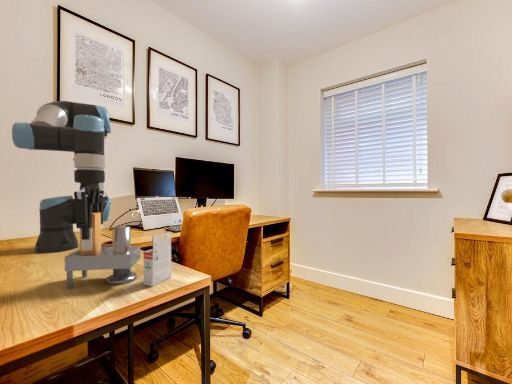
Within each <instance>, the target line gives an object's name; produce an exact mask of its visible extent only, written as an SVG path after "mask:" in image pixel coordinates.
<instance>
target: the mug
mask: <svg viewBox="0 0 512 384" xmlns="http://www.w3.org/2000/svg"><path fill="white" fill-rule="evenodd" d="M101 247H113V240H107V241H103V242H101Z"/></svg>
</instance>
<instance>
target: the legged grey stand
mask: <svg viewBox="0 0 512 384" xmlns="http://www.w3.org/2000/svg"><path fill="white" fill-rule="evenodd" d="M111 231H112V233H111V234H112V241H113V247H101V252H99V253H97V254H80V248H79V249H78V250H76V251H73V252H72V253H69V254H68V255H66V256H64V272H66V289H69V290H70V289H73V287H74V285H73V284H74V278H73V277H74V274H73V272H76V271H79V272H81V277H82V278H87V277H88V271H97V270H98V271H99V270H100V271H101V270H112V274H110V275H109V276H107V277H106V283H107V284H108V285H112V286H117V285H118V286H120V285H126V284H129V283H131V282H135V280H137V273H136V272H133V271H132V270H131V269H132V267H134V265H135V264H136V263H137V262H138V261H140V260H141V245H131V244H132V243H131V226H130V225H129V226H128V225H123V226H121V225H119V226H114V227H112V230H111Z"/></svg>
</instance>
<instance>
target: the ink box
mask: <svg viewBox="0 0 512 384" xmlns="http://www.w3.org/2000/svg"><path fill="white" fill-rule="evenodd" d="M171 233H172V232H171V230H170V231H167V232H163V233H159V234H154V235H152V236H151V238H152V241H151V242H152V249H148V250H145V251H143V285H145V286H148V287H154V286H157V285H159V284H161V283H163V282H165V281H167V280H169V279H170V278H172V234H171ZM162 236H165V237H163V238H161V237H162Z"/></svg>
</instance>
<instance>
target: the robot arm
mask: <svg viewBox="0 0 512 384" xmlns="http://www.w3.org/2000/svg"><path fill="white" fill-rule="evenodd" d="M35 116H36V117H34V118H33V119H32V121H31V122H30V123H29V122H26V121H25V122H15V123H13V125H12V126H11V127H12V128H11V138H12V142H13V145H14V146H15V147H16V148H17V149H24V150H29V151H31V150H32V151H33V150H35V151H36V150H37V151H53V152H54V151H55V152H70V153H74V155H73V157H72V161H74V162H73V163H74V164H73V165H74V167H73V168H75V170H73V173H74V182H75V183H77V184H79V191H73V192H74V193H73V195H64V196H62V195H61V196H54V197H48V198H47V197H46V198H43V199H41V200H40V202H39V209H38V211H39V235H38V237H37V240H36V243H35V246H34V251H35V252H36V253H43V254H44V253H45V254H46V253H58V252H64V251H70V250H73V249H76V248H78V247H79V241H78V238H77V235H76V233H75V230H74V225H75V227H76V229H80V228H81V251H89V250H93V228H90V227H91V218H92V213H101V225H103V224H104V222H107V221H108V220H109V219H110V214H111V213H110V212H111V204H112V198H111V197H109V196H108V193H107V192H106V191H105V182H106V177H105V175H106V171H105V170H104V169H105V168H106V164H105V163H106V161H105V160H106V159H105V140H106V139H107V138H108V134H111V132H112V129H111V121H110V115H109V111H108V109H107V107H105V106H102V105H97V104H89V103H81V102H74V101H69V100H58V101H57V100H55V101H51V102H47V103H45V104H43V105H41V106H39V108H38V109H37V111H36V115H35ZM73 196H74V197H73Z"/></svg>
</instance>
